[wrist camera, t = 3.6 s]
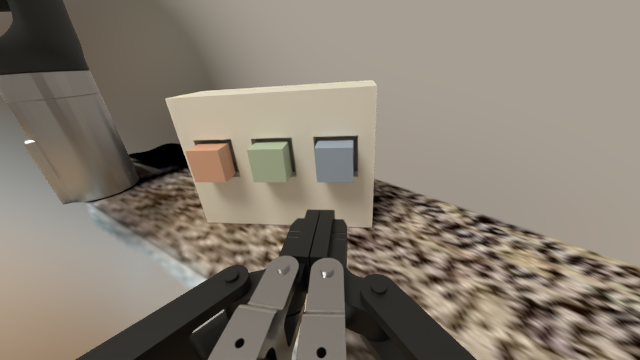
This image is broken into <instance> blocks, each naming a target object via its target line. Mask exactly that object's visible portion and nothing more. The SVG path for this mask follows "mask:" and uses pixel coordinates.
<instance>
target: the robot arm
mask: <svg viewBox="0 0 640 360" xmlns="http://www.w3.org/2000/svg"><path fill="white" fill-rule="evenodd" d="M5 11H7V12H8V11H11V12H12V17H13V22H12V25H11V26H10V28H9V29H8V31H7V32H6V33H5V34H4V35H2V36H1V37H0V94H1V96H2V97H3V99H4V100H5V102H7V105H8V107H9V108H10V110H11V111H12V113H13V114H14V116H15V118H16V119H17V121H18V122H19V124H20V125H21V127H22V129H23V130H24V132H25V133H26V135H27V136H28V139H26V140H24V142H23V144H24V146H25V147H26V149H27V150H28V152H29V153H30V155H31V157H32V158H33V160H34V161H35V163H36V164H37V166H38V167H39V169H40V170H41V171H42V173H43V175H44V176H45V178H46V179H47V181H48V183H49V184H50V186H51V187H52V189H53V190H54V192H55V193H56V195H57V196H58V198H59V199H60V201H61V202H62V204H67V203H72V202H87V201H92V200H97V199H101V198H105V197H108V196H111V195H114V194H117V193H119V192H122V191H124V190H126V189H128V188H130V187H132V186H133V185H135V184H136V183H137V182H138V181H139V177H138V175H137V172H136V170H135V167H134V166H133V164H132V161H131V159H130V157H129V155H128V153H127V150H126V148H125V146H124V144H123V142H122V140H121V137H120V135H119V133H118V131H117V129H116V126H115V124H114V122H113V120H112V118H111V116H110V114H109V111H108V109H107V107H106V105H105V103H104V101H103V98H102V96H101V94H100V92H99V90H98V87H97V85H96V83H95V81H94V79H93V77H92V75H91V72H90V71H88V70H89V68H88V66H87V63H86V61H85V58H84V55H83V51H82V47H81V44H80V42H79V39H78V37H77V34H76V32H75V30H74V28H73V25H72V23H71V20H70V18H69V15H68V13H67V10H66V8H65V5H64V2H63V0H0V12H5ZM346 266H347V225H346V223H345V221H344V219H335V211H334V210H311V209H308V210H307V211H306V214H305V217H304V218H297V219H296V220H295V221H294V222H293V223H292V225H291V227H290V230H289V232H288V235H287V237H286V240H285V242H284V245H283V248H282V250H281V253H280V255H279V257H277V258H275V259H274V260H272V261H271V262H270V263H269V265H268V267H267V269H264V270H260V271H256V272H251V273H248V270H247V268H246V267H244V266H241V265H234V266H230V267H228V268H226V269H224V270H222V271H221V272H219V273H217V274H216V275H214V276H213V277H211V278H209V279H208V280H206V281H204V282H203V283H201V284H199V285H198V286H196V287H194V288H193V289H191V290H189V291H188V292H186V293H185V294H183V295H181V296H180V297H178V298H176V299H175V300H173V301H171V302H170V303H168V304H167V305H165V306H163V307H161V308H160V309H158V310H157V311H155V312H153V313H152V314H150V315H148V316H147V317H145V318H144V319H142V320H140V321H139V322H137V323H135V324H133V325H132V326H130V327H129V328H127V329H125V330H124V331H122V332H120V333H119V334H117V335H115V336H114V337H112V338H110V339H109V340H107V341H106V342H104V343H102V344H101V345H99V346H97V347H96V348H94V349H92V350H91V351H89V352H87V353H86V354H84V355H82V356H81V357H79V358H78V359H76V360H292V352H293V348H294V345H295V341H296V338H297V334H298V331H299V327H300V324H301V327H300V335H299V342H298V349H297V357H296V360H346V331H345V328H348V329H350V330H352V331H354V332H356V333H358V334H360V336H361V338H362V340H363V342H364V343H365V344H366V346H367V347H368V349H369V350H370V351H371V353H372V354H373V356H374V357H375V358H376V360H476V359H475V358H474V357H473V356H472V355H471V354H470V353H469V352H468V351H467V350H466V349H465V348H464V347H462V346H461V345H460V344H459V343H458V342H457V341H456V340H455V339H454V338H453V337H452V336H451V335H450V334H449V333H447V332H446V331H445V330H444V329H443V328H442V327H441V326H440V325H439V324H438V323H437V322H436V321H435V320H434V319H433V318H431V317H430V316H429V315H428V314H427V313H426V312H425V311H424V310H423V309H422V308H421V307H420V306H419V305H418V304H416V303H415V302H414V301H413V300H412V299H411V298H410V297H409V296H408V295H407V294H406V293H405V292H404V291H403V290H402V289H400V288H399V287H398V286H397V285H396V284H395V283H394V282H393V281H392V280H391V279H389V278H388V277H386V276H384V275H380V274H372V275H369V276H366V277H365V278H361V277H358V276H356V275H354V274H352V273H351V272H350V271H349V270H348V269H347V267H346ZM307 293H308V297H307V305H306V311H305V312H304V310H305V304H304V303H305V299H306V294H307ZM223 309H224V312H223V313H221V314H220V315H218V316H217V317H216V318H214V319H213V320H211V321H210V322H209V323H208V324H206V325H205V326H203V327H202V328H200V329H199V330H197V331H196V332H194V333H192V332H193V331H194V330H195V329H196V328H198V327H199V326H200V325H202V324H203V323H205V322H206V321H207V320H209V319H210V318H212V317H213V316H215V315H216V314H217V313H219V312H220V311H222V310H223Z"/></svg>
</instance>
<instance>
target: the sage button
mask: <svg viewBox="0 0 640 360" xmlns="http://www.w3.org/2000/svg"><path fill="white" fill-rule="evenodd" d="M247 153H248V158H249V162H250V167H251V171H252V176H253V181H254V182H287V181H288V180H289V178H290V176H291V174H292V167H291V160H290V152H289V145H288V142H264V143H255V144H253V145H252V146H251V147H250V148H248V149H247Z"/></svg>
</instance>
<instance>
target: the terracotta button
mask: <svg viewBox="0 0 640 360" xmlns="http://www.w3.org/2000/svg"><path fill="white" fill-rule="evenodd" d="M185 152H186V155H187V158H188V161H189V164H190V167H191V170H192V173H193V176H194V179H195V181H196V182H227V181H228V180H229V179H230V178H231V177H232V176H233V175H235V174H236V172H235V169H234V165H233V161H232V157H231V153H230V149H229V145H228V143H226V144H198V145H196V146H194V147H192V148H190V149H188V150H186V151H185Z"/></svg>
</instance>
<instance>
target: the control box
mask: <svg viewBox="0 0 640 360" xmlns="http://www.w3.org/2000/svg"><path fill="white" fill-rule="evenodd" d="M165 100H166V103H167V106H168V109H169V112H170V114H171V117H172V120H173V123H174V126H175V129H176V132H177V134H178V137H179V140H180V143H181V146H182V149H183V152H184V155H185V158H186V161H187V164H188V166H189V169H190V172H191V175H192V178H193V181H194V184H195V187H196V190H197V192H198V195H199V198H200V201H201V204H202V207H203V210H204V213H205V216H206V218H207V221H208V223H237V224H270V225H292V223H293V222H294V221H295V220H296V219H297V218H304V217H305V214H306V211H307V210H308V209H311V210H334V211H335V219H344V221H345V223H346V225H347V227H367V228H372V217H373V189H374V160H375V159H374V158H375V157H374V156H375V132H376V131H375V130H376V103H377V85H376V84H375V82H374V81H373V80H370V81H369V80H368V81H354V82H353V81H352V82H337V83H322V84H307V85H291V86H275V87H260V88H245V89H229V90H214V91H202V92H197V93H191V94H186V95H181V96H176V97H171V98H166V99H165ZM340 140H353V162H354V175H353V182H317V174H316V163H315V151H314V148H315V146H316V144H317V142H318V141H340ZM264 142H288V145H289V152H290V160H291V167H292V174H291V176H290V178H289V180H288V181H287V182H254V181H253V176H252V171H251V167H250V162H249V158H248V153H247V149H248V148H250V147H251V146H252V145H253V144H255V143H264ZM226 143H228V145H229V149H230V153H231V157H232V161H233V165H234V169H235V172H236V174H235V175H233V176H232V177H231V178H230V179H229V180H228V181H227V182H196V181H195V179H194V176H193V173H192V170H191V167H190V164H189V161H188V158H187V155H186V152H185V151H186V150H188V149H190V148H192V147H194V146H196V145H198V144H226Z"/></svg>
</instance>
